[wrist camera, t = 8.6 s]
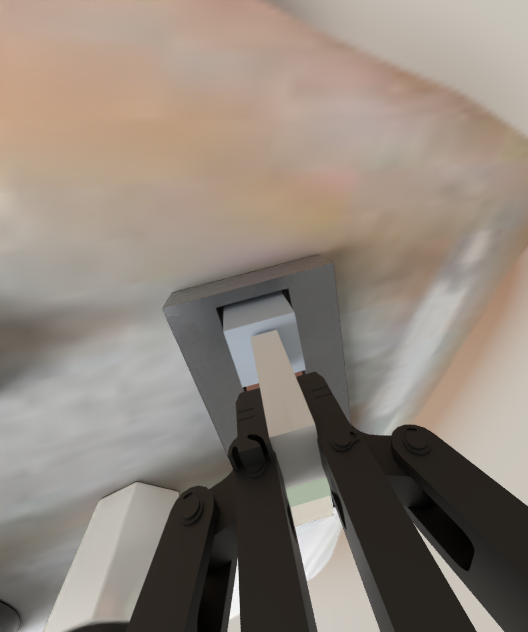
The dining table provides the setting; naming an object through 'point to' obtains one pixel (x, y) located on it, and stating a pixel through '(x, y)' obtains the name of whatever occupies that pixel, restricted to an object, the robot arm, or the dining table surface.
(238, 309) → the key slate
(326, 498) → the key ivory
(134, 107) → the dining table surface
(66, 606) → the jar
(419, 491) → the robot arm
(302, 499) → the key sage
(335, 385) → the key panel
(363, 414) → the dining table surface
